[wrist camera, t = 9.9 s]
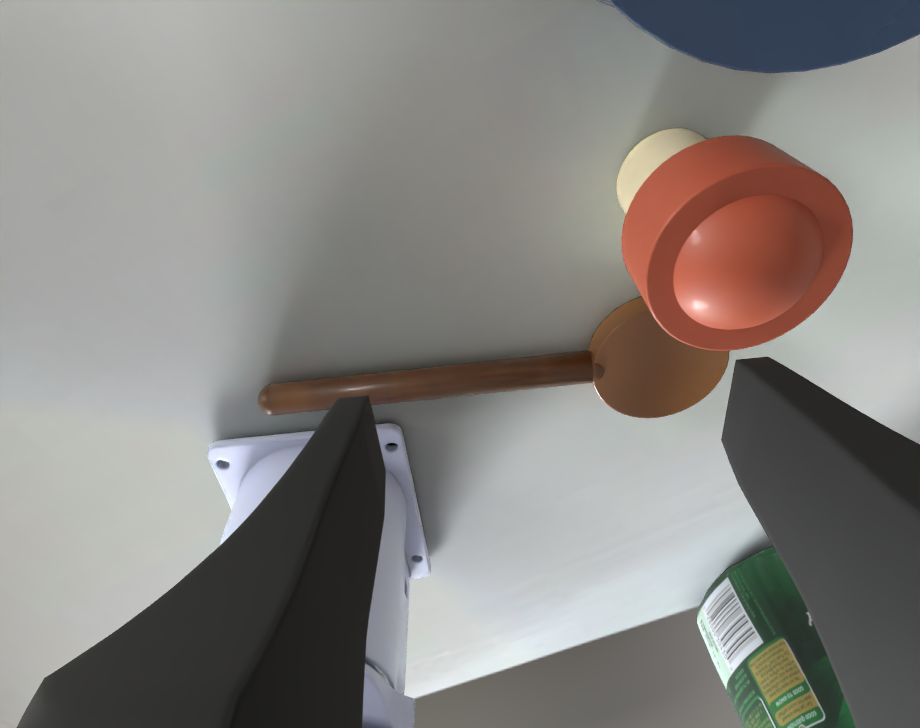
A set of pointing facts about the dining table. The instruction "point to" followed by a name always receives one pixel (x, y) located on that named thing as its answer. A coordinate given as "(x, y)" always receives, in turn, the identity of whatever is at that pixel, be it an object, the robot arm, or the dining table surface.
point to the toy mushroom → (729, 237)
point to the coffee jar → (770, 649)
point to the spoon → (542, 373)
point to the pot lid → (775, 30)
